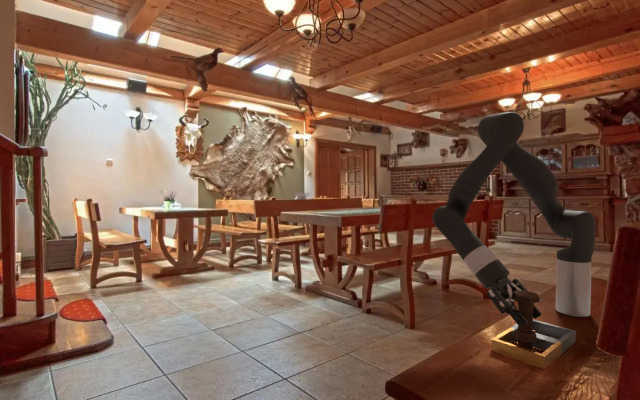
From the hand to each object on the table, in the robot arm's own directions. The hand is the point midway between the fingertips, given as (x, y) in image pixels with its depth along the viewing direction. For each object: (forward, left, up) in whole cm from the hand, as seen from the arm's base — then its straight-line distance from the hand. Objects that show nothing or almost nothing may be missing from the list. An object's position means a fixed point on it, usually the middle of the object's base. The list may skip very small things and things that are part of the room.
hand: (531, 321), depth 87 cm
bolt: (0, -2, -9) cm, 9 cm away
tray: (-6, -1, -8) cm, 10 cm away
